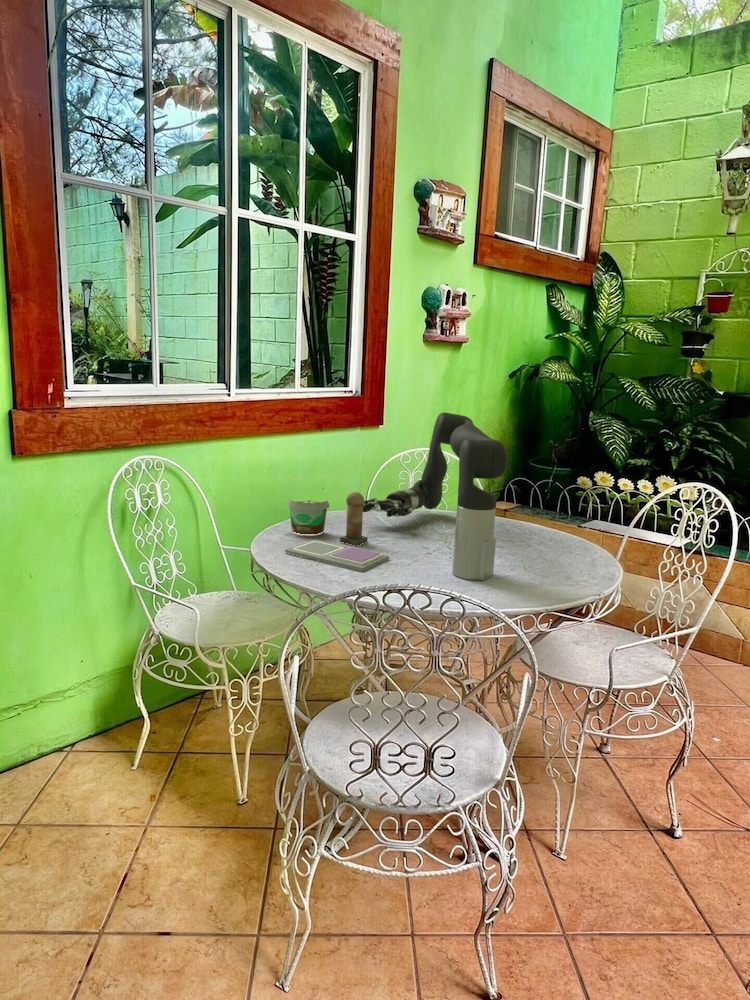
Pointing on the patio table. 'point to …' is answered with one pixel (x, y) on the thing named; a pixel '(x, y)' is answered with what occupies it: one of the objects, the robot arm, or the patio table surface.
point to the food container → (308, 516)
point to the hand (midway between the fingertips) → (375, 511)
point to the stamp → (354, 520)
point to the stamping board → (338, 555)
